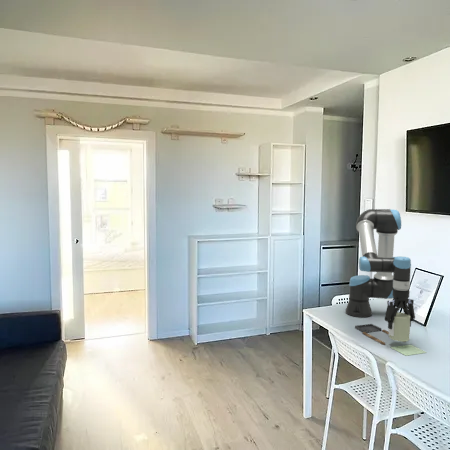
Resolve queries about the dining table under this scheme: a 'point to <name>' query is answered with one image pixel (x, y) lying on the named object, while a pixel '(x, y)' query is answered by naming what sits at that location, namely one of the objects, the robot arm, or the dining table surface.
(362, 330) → the tray
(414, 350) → the mat
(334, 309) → the dining table surface
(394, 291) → the robot arm
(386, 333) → the lane
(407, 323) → the can
